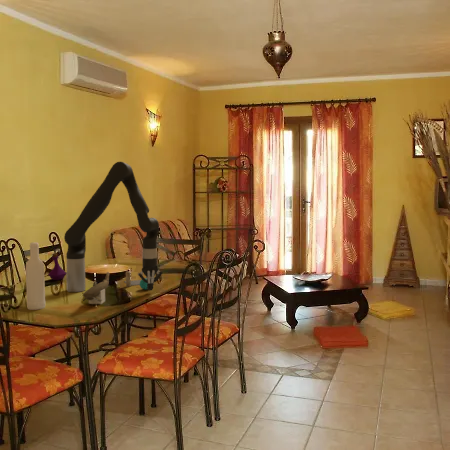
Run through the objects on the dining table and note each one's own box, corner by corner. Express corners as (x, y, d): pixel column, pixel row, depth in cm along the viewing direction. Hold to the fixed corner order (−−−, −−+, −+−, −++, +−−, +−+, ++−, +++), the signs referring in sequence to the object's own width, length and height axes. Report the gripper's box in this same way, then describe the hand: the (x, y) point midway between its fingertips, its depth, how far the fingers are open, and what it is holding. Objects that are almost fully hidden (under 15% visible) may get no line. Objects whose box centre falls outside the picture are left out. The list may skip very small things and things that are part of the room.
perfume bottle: (47, 279, 302) (47, 249, 301) (57, 277, 309) (56, 247, 307) (57, 281, 299) (56, 250, 297) (67, 278, 305) (66, 248, 304)
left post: (126, 287, 284) (126, 272, 283) (125, 286, 286) (125, 271, 285) (131, 286, 285) (131, 272, 284) (130, 285, 287) (130, 271, 286)
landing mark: (128, 285, 287) (128, 285, 287) (123, 281, 298) (123, 281, 298) (150, 284, 292) (150, 283, 292) (144, 280, 303) (144, 279, 303)
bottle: (47, 305, 243) (45, 241, 240) (42, 309, 235) (40, 243, 232) (30, 305, 243) (28, 241, 240) (24, 310, 235) (22, 243, 232)
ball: (141, 291, 274) (141, 279, 273) (138, 288, 279) (138, 277, 279) (152, 290, 276) (152, 278, 276) (149, 287, 282) (149, 276, 281)
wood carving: (117, 293, 269) (117, 271, 268) (95, 310, 234) (95, 286, 233) (100, 292, 270) (100, 271, 268) (76, 310, 235) (75, 285, 234)
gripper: (160, 255, 273) (160, 287, 275) (135, 256, 268) (135, 289, 270) (164, 257, 266) (164, 290, 268) (139, 258, 261) (139, 292, 263)
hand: (150, 290), depth 269 cm, fingers closed
